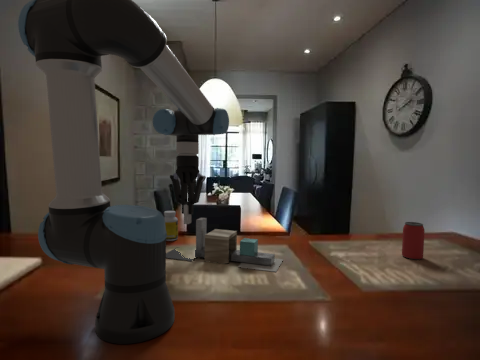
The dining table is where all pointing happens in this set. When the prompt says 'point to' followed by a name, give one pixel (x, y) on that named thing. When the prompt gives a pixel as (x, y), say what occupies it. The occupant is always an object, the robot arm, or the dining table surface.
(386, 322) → the dining table surface
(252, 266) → the mat
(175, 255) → the grey shoe shape
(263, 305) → the dining table surface
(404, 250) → the beer can
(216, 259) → the tunnel
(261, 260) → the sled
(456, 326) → the dining table surface
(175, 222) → the pill bottle
